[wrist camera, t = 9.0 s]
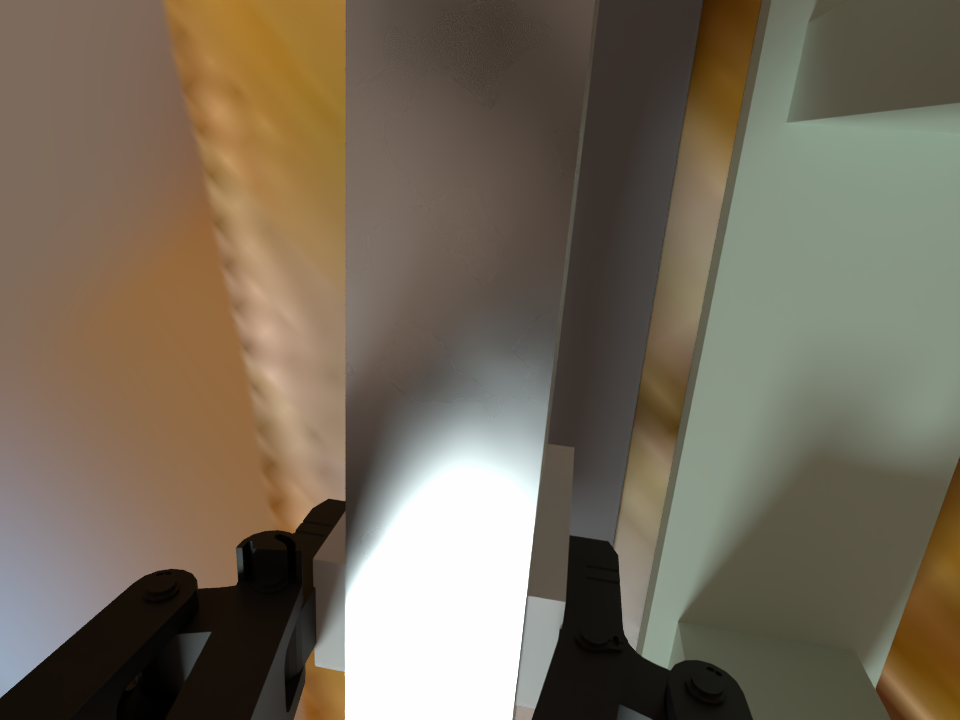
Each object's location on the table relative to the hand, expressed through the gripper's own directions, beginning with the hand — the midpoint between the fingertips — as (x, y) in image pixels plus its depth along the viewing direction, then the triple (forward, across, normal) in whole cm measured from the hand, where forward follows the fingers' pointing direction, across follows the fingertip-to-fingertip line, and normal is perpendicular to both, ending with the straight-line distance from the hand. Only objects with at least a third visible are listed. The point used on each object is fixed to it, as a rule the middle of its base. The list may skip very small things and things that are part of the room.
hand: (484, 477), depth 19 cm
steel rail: (-2, 0, 0) cm, 2 cm away
